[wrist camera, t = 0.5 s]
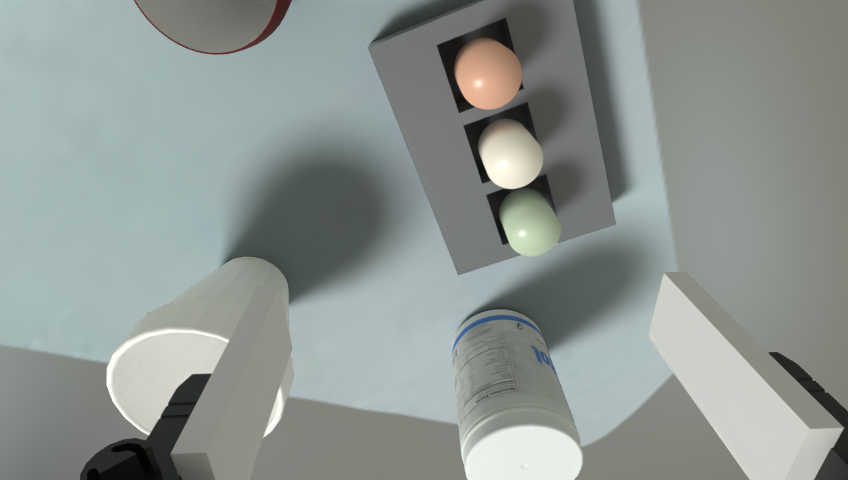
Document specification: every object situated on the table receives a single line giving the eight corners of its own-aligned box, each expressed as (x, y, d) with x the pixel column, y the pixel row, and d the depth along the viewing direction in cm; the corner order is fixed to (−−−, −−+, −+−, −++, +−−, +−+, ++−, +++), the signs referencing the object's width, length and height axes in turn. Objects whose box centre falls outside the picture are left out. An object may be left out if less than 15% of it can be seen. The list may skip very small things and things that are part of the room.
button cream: (471, 129, 36) (478, 145, 32) (522, 110, 35) (535, 124, 32) (486, 176, 37) (494, 196, 34) (535, 159, 37) (549, 177, 33)
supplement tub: (558, 346, 50) (609, 472, 37) (484, 388, 53) (509, 520, 40) (507, 287, 46) (545, 405, 33) (431, 336, 49) (438, 463, 36)
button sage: (493, 197, 38) (501, 219, 35) (541, 181, 38) (554, 201, 34) (506, 238, 40) (515, 262, 37) (552, 223, 40) (566, 246, 36)
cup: (327, 331, 48) (300, 447, 36) (208, 341, 48) (142, 459, 36) (303, 224, 42) (262, 320, 30) (167, 235, 43) (73, 335, 31)
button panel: (370, 42, 35) (367, 47, 33) (554, -32, 33) (566, -34, 31) (455, 257, 44) (458, 275, 42) (603, 209, 42) (615, 224, 40)
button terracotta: (446, 50, 33) (450, 58, 29) (501, 28, 32) (512, 33, 29) (463, 104, 35) (470, 118, 31) (516, 84, 34) (528, 96, 31)
